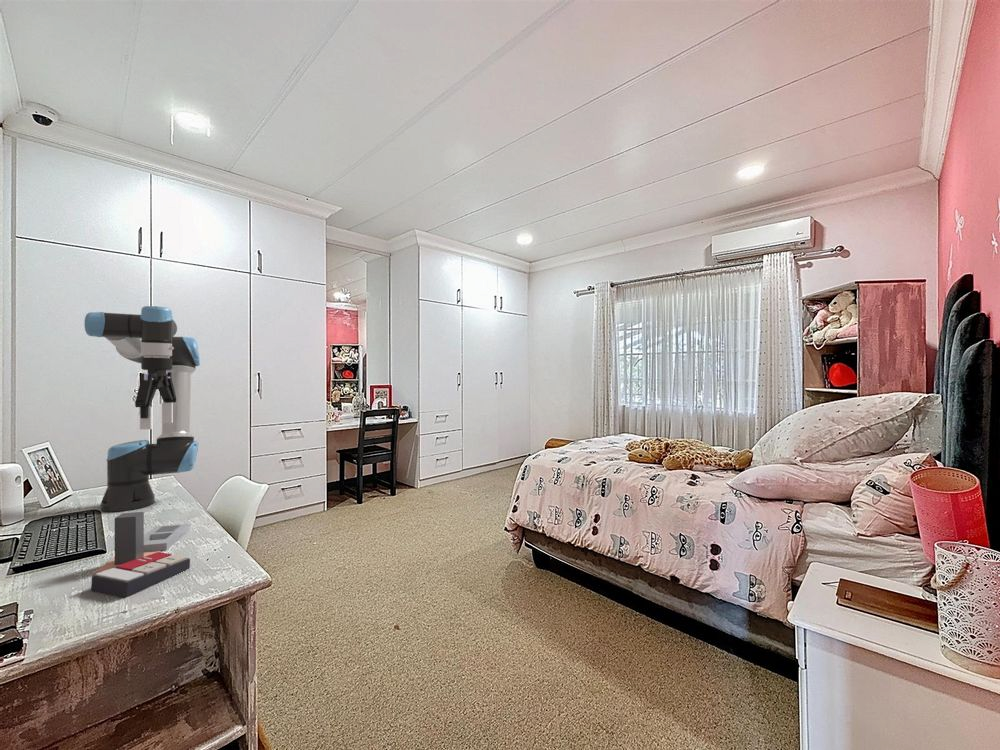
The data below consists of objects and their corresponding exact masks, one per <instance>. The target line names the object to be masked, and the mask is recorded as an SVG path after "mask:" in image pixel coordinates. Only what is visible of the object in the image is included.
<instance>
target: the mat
mask: <svg viewBox="0 0 1000 750" xmlns="http://www.w3.org/2000/svg"><path fill="white" fill-rule="evenodd" d="M157 552H161V553H162V551H152V552H144V557H145V556H148V555H151V554H154V553H157ZM116 566H118V565H115V556H114V557H113V558H111V559H110V560H108V561H107V562H105V563H104V564H103V565H101V566H100V567H98V568H97V569H96V570H94V571H93V575H96V574H97V573H100V572H103V571H105V570H108V569H111V568H116Z"/></svg>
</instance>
